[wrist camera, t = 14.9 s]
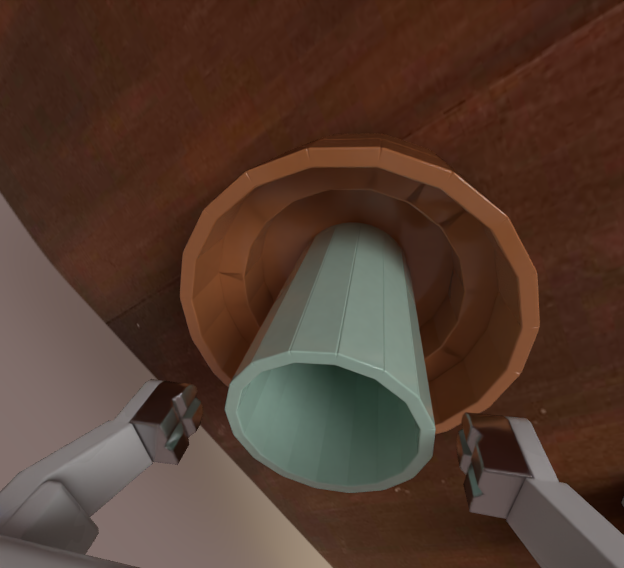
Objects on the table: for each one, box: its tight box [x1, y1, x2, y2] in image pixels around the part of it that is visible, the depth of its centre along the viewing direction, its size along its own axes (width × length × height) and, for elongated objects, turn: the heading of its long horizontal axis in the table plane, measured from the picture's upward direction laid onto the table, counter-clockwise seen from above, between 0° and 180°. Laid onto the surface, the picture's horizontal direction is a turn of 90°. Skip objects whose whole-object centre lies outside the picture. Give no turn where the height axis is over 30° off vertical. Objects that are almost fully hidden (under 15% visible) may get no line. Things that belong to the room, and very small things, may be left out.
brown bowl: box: [180, 133, 540, 434], centre depth 16 cm, size 14×14×6 cm
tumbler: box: [225, 222, 436, 493], centre depth 13 cm, size 6×6×10 cm
